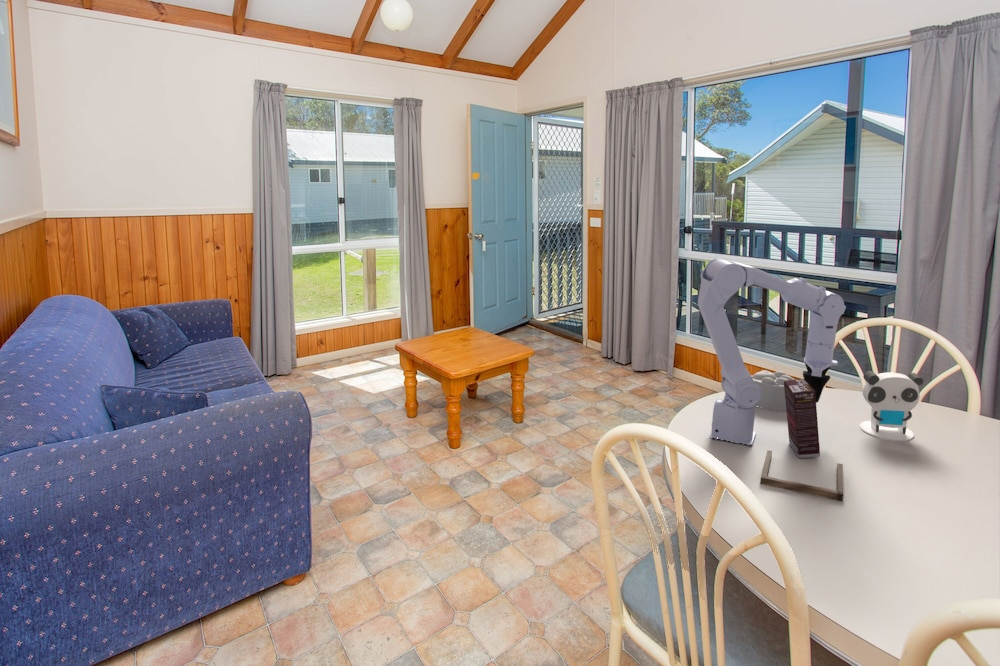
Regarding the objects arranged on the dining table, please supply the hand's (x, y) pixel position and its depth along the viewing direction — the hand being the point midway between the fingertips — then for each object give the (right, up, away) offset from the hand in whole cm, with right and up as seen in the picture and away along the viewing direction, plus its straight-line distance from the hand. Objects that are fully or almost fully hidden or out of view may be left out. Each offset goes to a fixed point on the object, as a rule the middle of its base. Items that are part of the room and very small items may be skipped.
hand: (813, 396), depth 143 cm
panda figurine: (+20, -9, +5) cm, 23 cm away
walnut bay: (-11, -15, -16) cm, 25 cm away
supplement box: (-5, -12, -5) cm, 14 cm away
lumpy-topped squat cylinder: (+1, -5, +23) cm, 23 cm away
